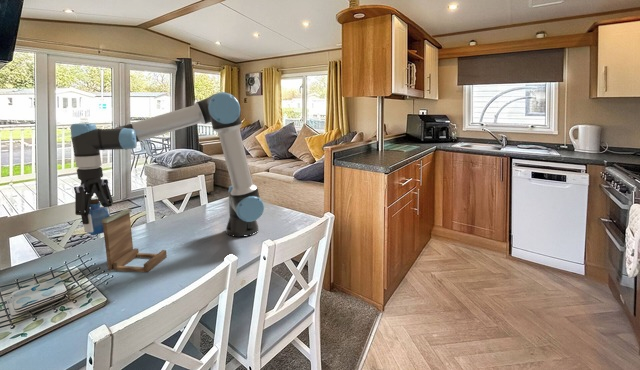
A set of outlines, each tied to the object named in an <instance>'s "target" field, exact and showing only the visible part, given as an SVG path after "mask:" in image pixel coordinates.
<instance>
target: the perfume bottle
mask: <svg viewBox="0 0 640 370" xmlns="http://www.w3.org/2000/svg"><path fill="white" fill-rule="evenodd" d="M101 207H102V206H101V203H100V201H99V199H98V198H93V199H91V204H90V210H89V214H91V218H92V225H93V231H94V232H86V233H87V234H89V235H91V236H96V235H100V234H104V231H103V223H102V221H101V220H102V219H104V218H107V217H109V216H111V215H109V214H108V212H107V211H106V210H105V209H104V208H101Z"/></svg>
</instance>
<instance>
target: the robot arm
mask: <svg viewBox="0 0 640 370" xmlns="http://www.w3.org/2000/svg"><path fill="white" fill-rule="evenodd" d="M209 123H210V124H211V127H212V129H213V131H215V132H216V133H217V134H218V137H219V140H220V142H219V143H220V144H221V148H222V153H223V156H224V160H225V164H226V167H227V171H228V176H229V178H230V184H231V185H229V187H228V191H227V192H228V206H229V207H228V209H229V212H228V213H229V216H228V217H229V218H228V220H227V223H226V228H225V233H226V232H227V233H228V234H230V235H234V236H244V235H250V234H253V233H255V232H257V231H258V232H259V223H258V222H257V220H258V219H260V218H261V216H262V215H263V213H264V211H265V204H264V202H263V200H262V199H261V197H260V191H259V188H258V186H257V185H256V184H254V183H253V179H252V175H251V172H250V167H249V163H248V159H247V155H246V154H247V153H246V150H245V147H244V146H245V145H244V143H243V137H242V134H241V131H240V129H241V127H242V125H243V122H242V118H241V105H240V102H239V101H238V99H237V98H236V97H235V96H234V95H233V94H231V93H228V92H223V91H222V92H221V91H220V92H216V93H213V94H211V95H210V96H208V97H206V98H204V99H202V100H199V101H195V104H193V105H190V106H186V107H183V108H180V109H176V110H173V111H169V112H165V113H163V114H159V115H156V116H151V117H149V118H146V119H142V120H138V121H136V122H135V121H134V122H132V123H128V124H124V125H120V126H117V127H115V128H97V125H96V124H95V123H89V122H88V123H87V122H86V123H84V122H82V123H73V124H71V125H70V139H71V142H72V150H73V155H74V159H75V161H74V162H75V167H76V168H77V169H76V174H77V179H78V180H80V185H79V186H74V187H73V190H74V195H75V196H74V197H75V198H74V199H75V201H74V202H75V203H74V204H75V206H74V208H75V215H76V216H81V221H82V225H83V228H84V229H83V230H84V233H87V232H94V231H93V225H92V218H91V214H89V210H90V204H91V200H92V198H93V196H94V194H95V196H96V199H99V202H100V207H101V208H104V209H105V210H106V211H107V212H108V214H109V215H110V213H111V209H110V207H112V205H113V204H114V201H113V198H112V194H111V191H110V187H109V180H108V179H107V178H105V179H103V177H104V172H103V168H102V167H101V166H102V164H103V163H102V158H101V152H100V151H107V150H108V151H112V150H114V151H117V150H135V149H136V148H137V143H139V142H142V141H146V140H148V139H153V138H155V137H158V136H162V135H164V134H169V133H172V132H175V131H178V130H181V129H184V128H188V127H191V126H195V125H198V124H203V125H206V124H209ZM110 216H111V215H110ZM258 232H257V233H258ZM227 233H226V234H227ZM228 234H227V235H228ZM230 235H229V236H230ZM234 236H233V237H234Z"/></svg>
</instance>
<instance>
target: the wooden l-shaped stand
mask: <svg viewBox="0 0 640 370" xmlns="http://www.w3.org/2000/svg"><path fill="white" fill-rule="evenodd" d="M132 211H133V210H132V208H125V209H122V210H121V211H119V212H116V213H114V214H112V215H110V216H109V217H107V218H104V219H102V220H101V221H102V223H103V231H104V233H103V236H104V237H103V238H104V239H103V240H104V246H105V254H106V262H107V270H108V271H118V272H133V273H134V272H137V273H150V271H152V270H153V269H154V268H155V267H156V266H158V265H159V264H160V263H162V262H163V261H164V260H166V258H167V256H168V255H167V254H168V253H167V250H166V249H162V250H160V251H159V252H158V253H147V252H145V253H144V252H139V248H134V245H133V235H132V234H133V233H132V226H131V215H130V213H131V212H132ZM132 213H133V212H132ZM136 258H145V259H146V258H147V259H149V260H148V261H146V262H144V264H143V266H129V265H128V264H129V263H130V262H133V261H134V260H135V259H136Z"/></svg>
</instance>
